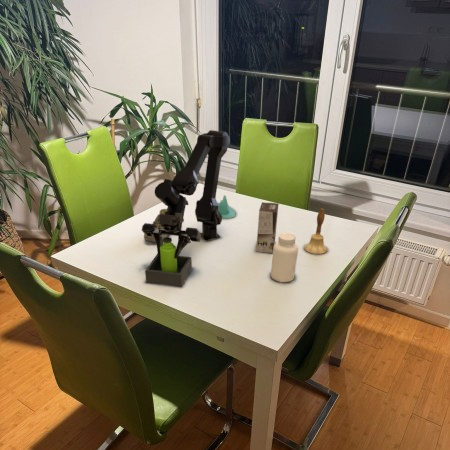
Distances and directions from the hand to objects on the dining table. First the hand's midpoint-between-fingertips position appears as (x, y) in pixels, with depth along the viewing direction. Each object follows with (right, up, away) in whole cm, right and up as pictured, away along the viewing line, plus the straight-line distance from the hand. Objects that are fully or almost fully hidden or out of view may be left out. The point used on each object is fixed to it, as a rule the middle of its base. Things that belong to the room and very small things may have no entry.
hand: (167, 257), depth 133 cm
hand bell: (+53, +5, +23) cm, 58 cm away
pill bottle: (+38, -6, +6) cm, 39 cm away
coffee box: (+34, +6, +24) cm, 42 cm away
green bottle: (0, -5, +5) cm, 7 cm away
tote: (0, -5, +5) cm, 8 cm away
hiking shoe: (-6, +12, +32) cm, 34 cm away
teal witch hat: (+16, +27, +53) cm, 62 cm away
